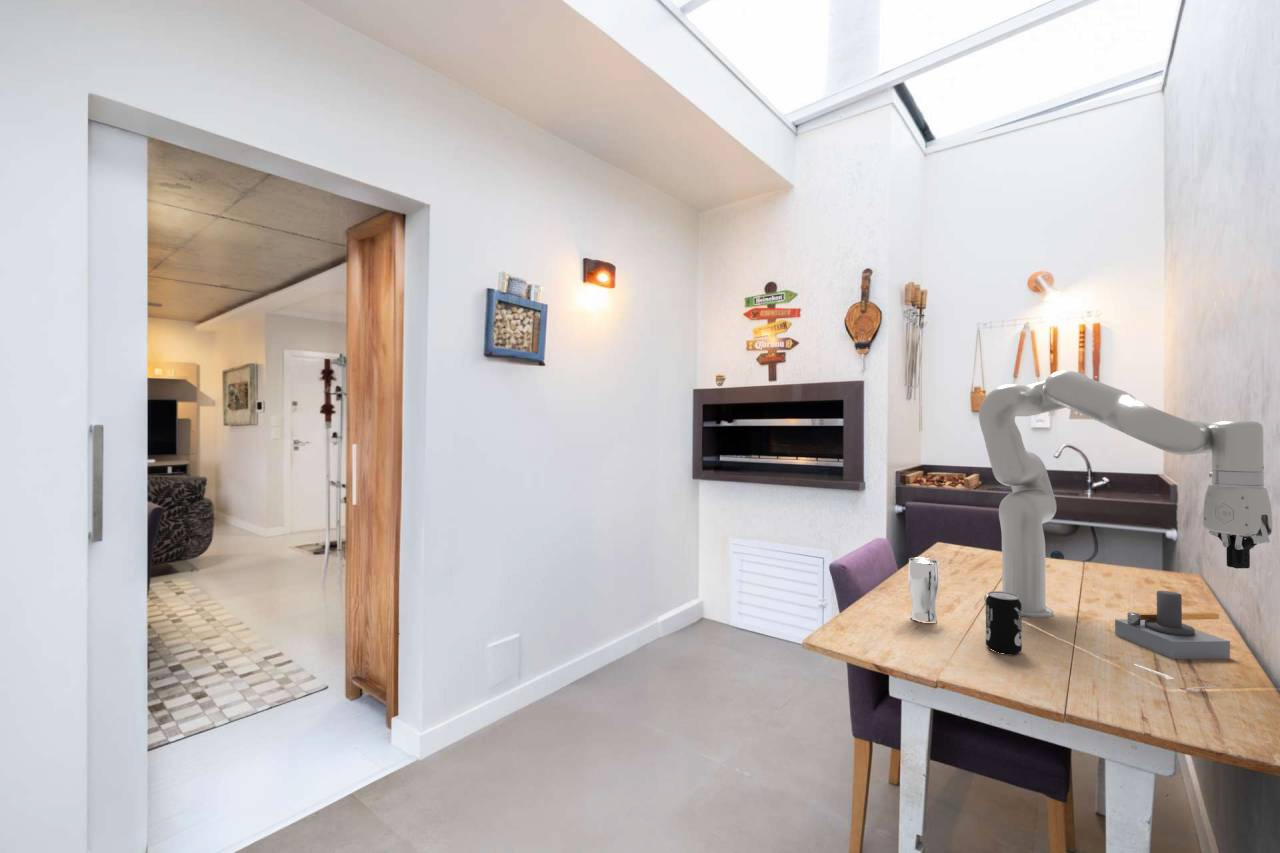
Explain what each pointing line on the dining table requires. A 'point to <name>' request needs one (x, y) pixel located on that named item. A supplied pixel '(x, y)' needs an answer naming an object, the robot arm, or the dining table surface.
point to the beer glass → (923, 588)
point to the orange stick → (1136, 617)
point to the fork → (1169, 678)
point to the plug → (1169, 615)
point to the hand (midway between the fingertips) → (1238, 567)
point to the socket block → (1174, 642)
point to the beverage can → (1003, 622)
